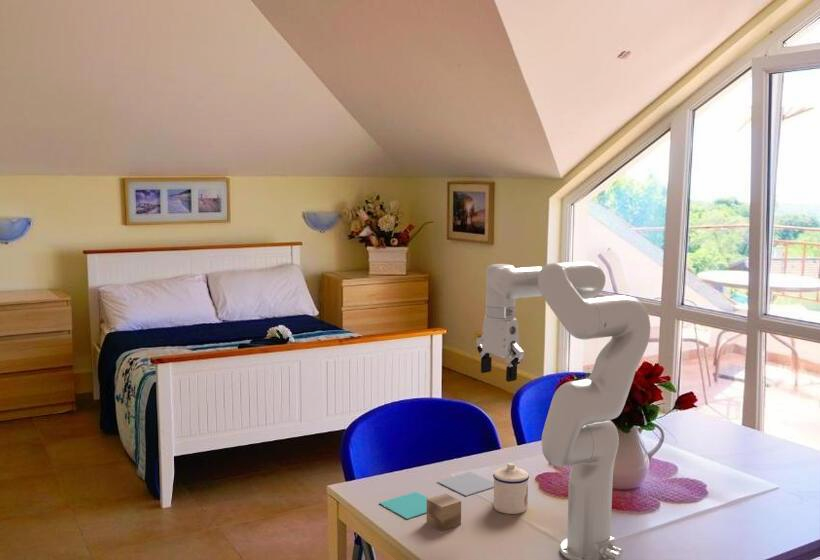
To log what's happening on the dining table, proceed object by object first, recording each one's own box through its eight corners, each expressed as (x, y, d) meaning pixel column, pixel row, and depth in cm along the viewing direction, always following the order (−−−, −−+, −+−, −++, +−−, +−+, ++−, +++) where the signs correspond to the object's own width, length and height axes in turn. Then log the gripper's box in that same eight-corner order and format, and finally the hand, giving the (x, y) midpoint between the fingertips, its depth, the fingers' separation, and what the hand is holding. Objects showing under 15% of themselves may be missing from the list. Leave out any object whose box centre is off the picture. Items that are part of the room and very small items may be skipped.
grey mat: (499, 485, 228) (499, 484, 228) (465, 496, 221) (465, 495, 221) (470, 472, 237) (470, 471, 237) (437, 482, 230) (437, 481, 230)
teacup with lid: (533, 513, 210) (534, 469, 208) (498, 516, 208) (499, 471, 207) (518, 494, 222) (518, 452, 220) (485, 497, 220) (485, 455, 218)
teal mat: (444, 507, 214) (444, 506, 214) (407, 519, 206) (407, 518, 206) (415, 492, 223) (415, 491, 223) (379, 503, 216) (379, 502, 216)
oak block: (461, 524, 204) (461, 501, 203) (442, 531, 200) (442, 507, 200) (445, 516, 209) (445, 493, 208) (426, 522, 205) (426, 499, 204)
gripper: (534, 316, 210) (532, 381, 213) (488, 305, 224) (487, 367, 227) (512, 319, 206) (510, 386, 209) (467, 308, 219) (465, 371, 222)
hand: (498, 376), depth 218 cm, fingers open, 9 cm apart
